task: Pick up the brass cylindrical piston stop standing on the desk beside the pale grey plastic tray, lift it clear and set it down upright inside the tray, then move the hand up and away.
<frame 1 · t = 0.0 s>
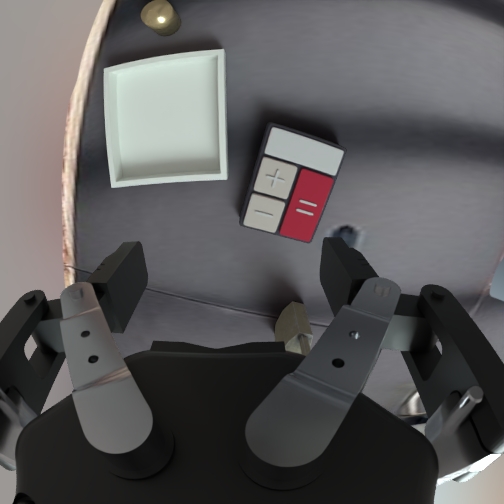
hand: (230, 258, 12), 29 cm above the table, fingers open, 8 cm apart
padlock: (288, 318, 51), on the table
tray: (168, 118, 35), on the table
calculator: (289, 180, 40), on the table
piston stop: (167, 24, 29), on the table
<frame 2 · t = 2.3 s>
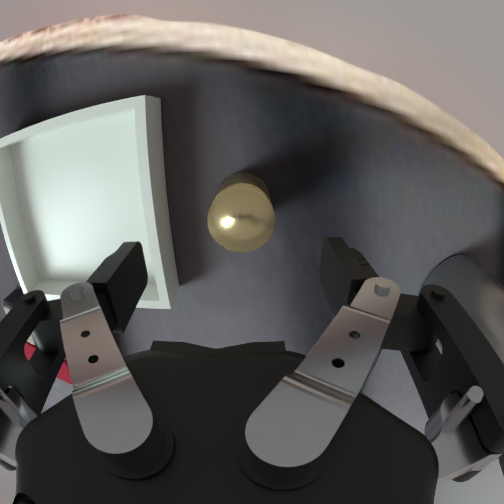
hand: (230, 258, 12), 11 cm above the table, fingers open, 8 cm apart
tray: (80, 206, 22), on the table
calculator: (62, 334, 30), on the table
piston stop: (243, 196, 22), on the table
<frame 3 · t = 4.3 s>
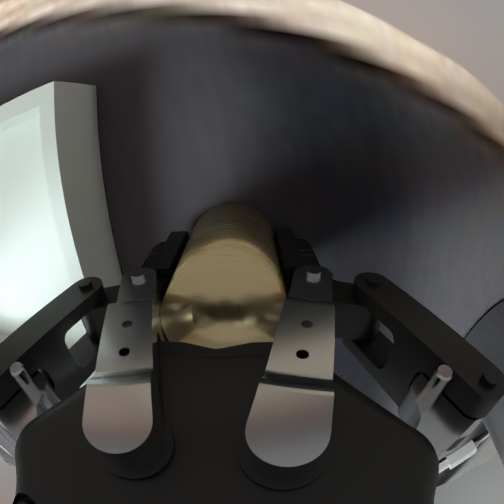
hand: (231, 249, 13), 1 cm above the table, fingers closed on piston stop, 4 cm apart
tray: (11, 250, 14), on the table
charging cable: (487, 429, 35), on the table
piston stop: (232, 242, 14), on the table, touching gripper
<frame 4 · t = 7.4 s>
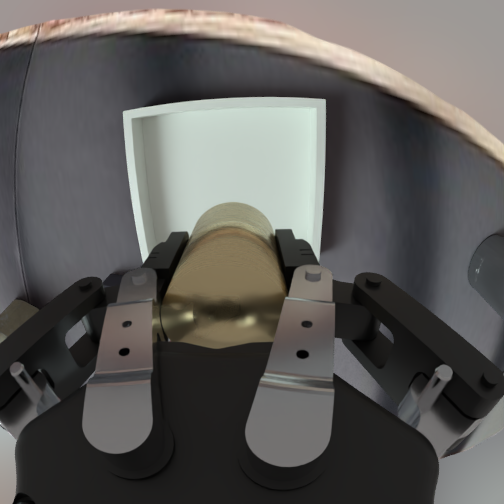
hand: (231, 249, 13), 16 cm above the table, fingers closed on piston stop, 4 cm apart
padlock: (32, 312, 36), on the table
tray: (227, 184, 28), on the table
piston stop: (233, 242, 14), point 15 cm above the table, touching gripper
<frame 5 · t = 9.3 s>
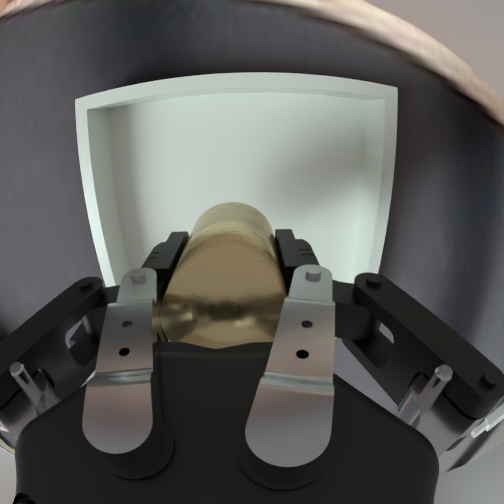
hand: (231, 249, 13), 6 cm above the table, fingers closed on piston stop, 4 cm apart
tray: (237, 210, 18), on the table
piston stop: (232, 242, 14), point 5 cm above the table, touching gripper
when the fingers open (3 cm above the table, at t = 10.7 s): piston stop drops 1 cm, resting on tray.
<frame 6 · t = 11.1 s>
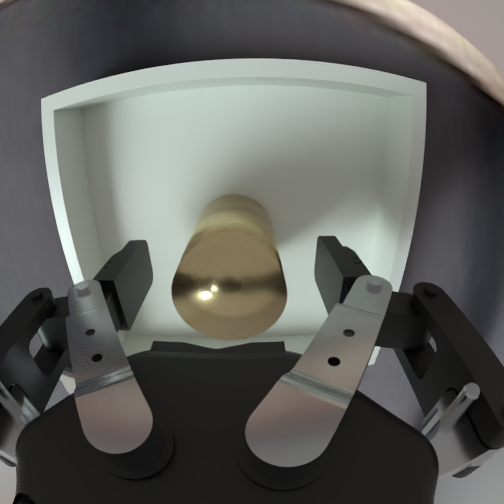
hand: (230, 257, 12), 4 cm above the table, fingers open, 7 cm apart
tray: (233, 226, 16), on the table
calculator: (151, 390, 23), on the table
piston stop: (234, 231, 15), point 1 cm above the table, touching tray
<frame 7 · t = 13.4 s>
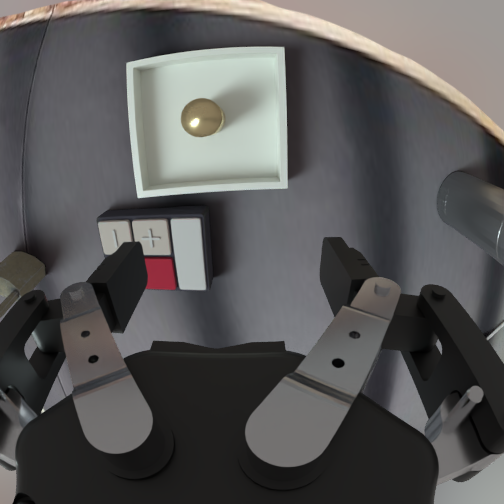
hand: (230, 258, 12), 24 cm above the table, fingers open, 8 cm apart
padlock: (29, 262, 39), on the table
tray: (208, 119, 31), on the table
calculator: (158, 243, 39), on the table
piston stop: (208, 119, 30), point 1 cm above the table, touching tray
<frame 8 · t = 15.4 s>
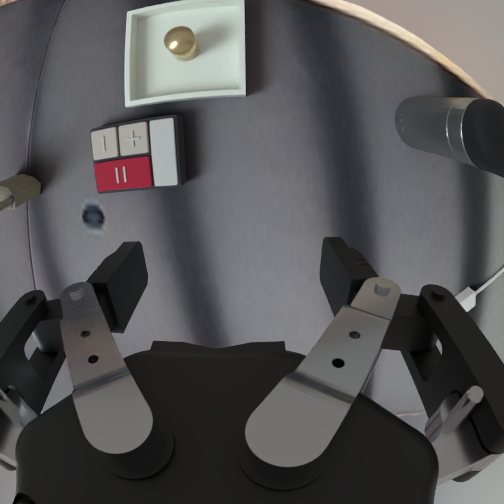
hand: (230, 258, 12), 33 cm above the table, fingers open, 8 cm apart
padlock: (28, 184, 42), on the table
tray: (186, 51, 34), on the table
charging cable: (479, 283, 55), on the table
calculator: (141, 153, 41), on the table
piston stop: (186, 49, 33), point 1 cm above the table, touching tray
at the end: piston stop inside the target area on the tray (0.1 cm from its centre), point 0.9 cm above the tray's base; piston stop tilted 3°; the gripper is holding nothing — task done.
